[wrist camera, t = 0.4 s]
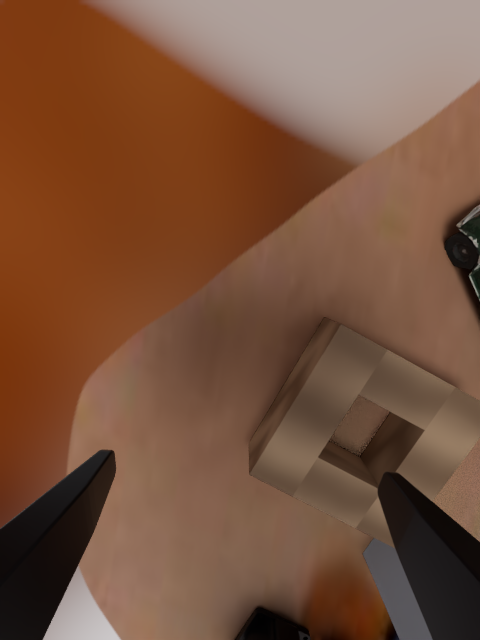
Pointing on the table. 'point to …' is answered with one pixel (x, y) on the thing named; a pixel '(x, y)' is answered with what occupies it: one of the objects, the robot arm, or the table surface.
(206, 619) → the table surface
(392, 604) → the peg
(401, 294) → the table surface
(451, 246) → the miniature car
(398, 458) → the socket block
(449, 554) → the robot arm
